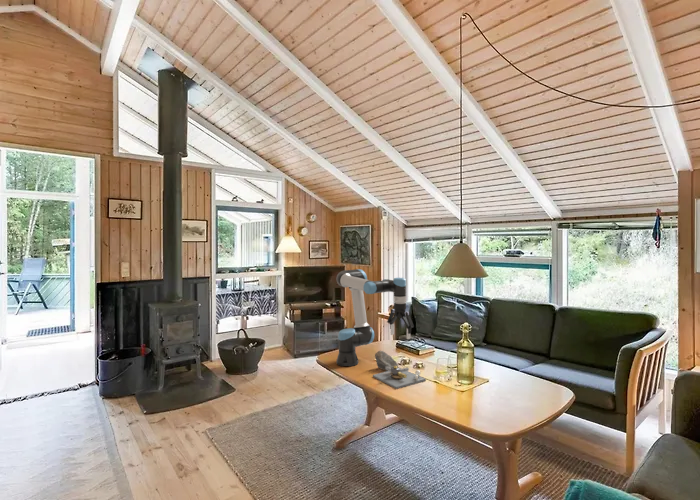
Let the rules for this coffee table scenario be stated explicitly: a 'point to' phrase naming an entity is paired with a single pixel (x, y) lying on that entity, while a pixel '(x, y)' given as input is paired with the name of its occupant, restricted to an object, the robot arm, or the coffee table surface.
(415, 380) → the stand board
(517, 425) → the coffee table surface
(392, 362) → the rock
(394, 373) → the cam capstan
